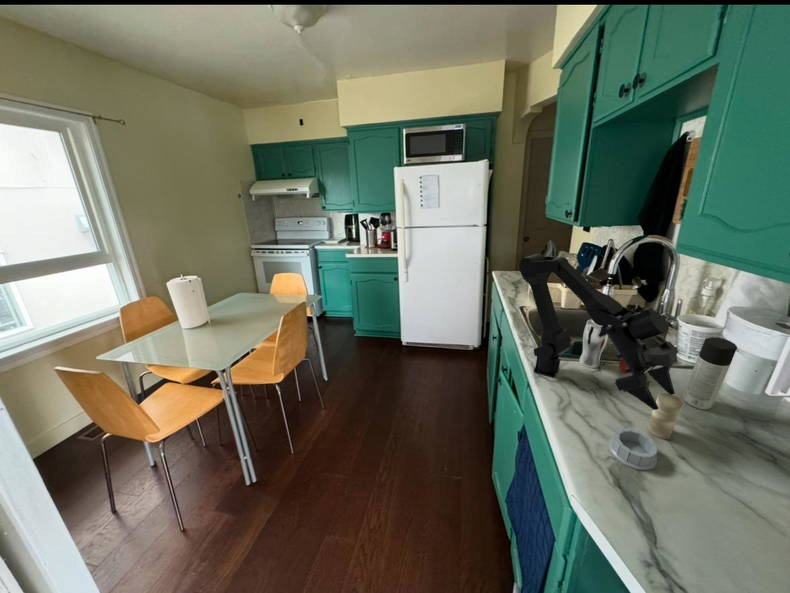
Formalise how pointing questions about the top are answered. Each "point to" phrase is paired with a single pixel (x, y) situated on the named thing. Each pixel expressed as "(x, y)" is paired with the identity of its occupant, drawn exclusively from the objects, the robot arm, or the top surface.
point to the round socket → (633, 449)
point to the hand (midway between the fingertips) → (664, 401)
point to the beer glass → (592, 345)
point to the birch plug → (664, 416)
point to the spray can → (709, 372)
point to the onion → (623, 366)
